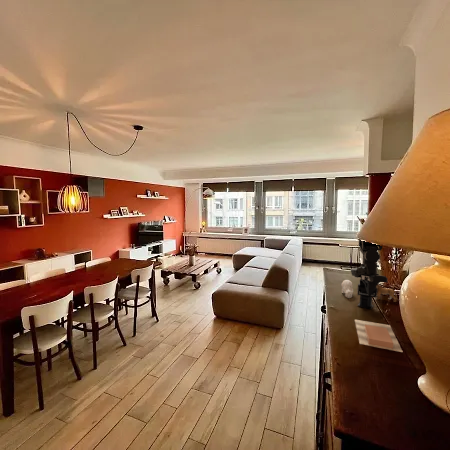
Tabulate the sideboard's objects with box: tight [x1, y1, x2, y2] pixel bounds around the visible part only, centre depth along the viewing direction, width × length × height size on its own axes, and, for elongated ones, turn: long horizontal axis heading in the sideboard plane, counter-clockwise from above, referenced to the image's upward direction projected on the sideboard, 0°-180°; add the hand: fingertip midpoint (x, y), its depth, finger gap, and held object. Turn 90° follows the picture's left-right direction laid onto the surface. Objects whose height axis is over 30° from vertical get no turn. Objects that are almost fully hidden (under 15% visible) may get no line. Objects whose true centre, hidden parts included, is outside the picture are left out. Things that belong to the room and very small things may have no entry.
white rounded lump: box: [341, 279, 354, 299], centre depth 149 cm, size 6×8×12 cm
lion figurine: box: [376, 284, 400, 303], centre depth 144 cm, size 15×5×9 cm, turn 65°
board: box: [354, 319, 403, 353], centre depth 104 cm, size 22×14×1 cm, turn 157°
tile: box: [365, 325, 393, 350], centre depth 100 cm, size 2×8×12 cm
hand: (369, 295), depth 118 cm, fingers closed
